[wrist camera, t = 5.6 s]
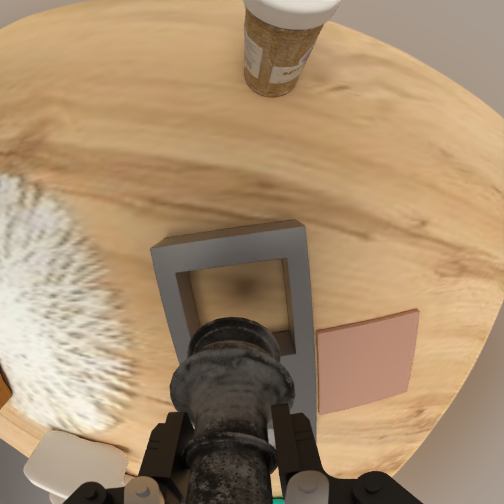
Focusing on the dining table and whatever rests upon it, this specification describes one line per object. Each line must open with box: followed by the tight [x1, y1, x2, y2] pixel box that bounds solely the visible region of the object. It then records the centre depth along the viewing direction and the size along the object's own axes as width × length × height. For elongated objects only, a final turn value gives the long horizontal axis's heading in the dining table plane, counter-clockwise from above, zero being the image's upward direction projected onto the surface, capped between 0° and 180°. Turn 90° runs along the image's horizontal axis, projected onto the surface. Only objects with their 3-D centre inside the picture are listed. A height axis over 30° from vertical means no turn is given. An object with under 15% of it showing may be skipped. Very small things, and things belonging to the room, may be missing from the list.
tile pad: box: [316, 309, 420, 415], centre depth 27 cm, size 11×11×1 cm
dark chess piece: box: [170, 317, 295, 504], centre depth 10 cm, size 6×6×12 cm
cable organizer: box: [24, 431, 135, 504], centre depth 25 cm, size 15×11×12 cm
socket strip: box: [150, 220, 316, 450], centre depth 24 cm, size 24×11×4 cm, turn 8°
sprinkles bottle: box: [243, 0, 341, 97], centre depth 14 cm, size 5×5×13 cm
